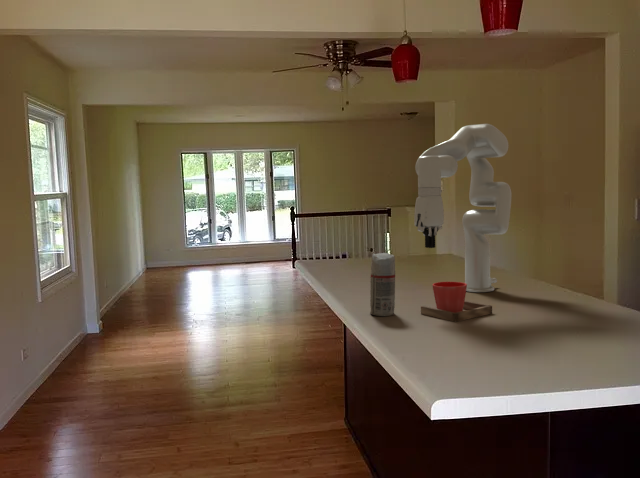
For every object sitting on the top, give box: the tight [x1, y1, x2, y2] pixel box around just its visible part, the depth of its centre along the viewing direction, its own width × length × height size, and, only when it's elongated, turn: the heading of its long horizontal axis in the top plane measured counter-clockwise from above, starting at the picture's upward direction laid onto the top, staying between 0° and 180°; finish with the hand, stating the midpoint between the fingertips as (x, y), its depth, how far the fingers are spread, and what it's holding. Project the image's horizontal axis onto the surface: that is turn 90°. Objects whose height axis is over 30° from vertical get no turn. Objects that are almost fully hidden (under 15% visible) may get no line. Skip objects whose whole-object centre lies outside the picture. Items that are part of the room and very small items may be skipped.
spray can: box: [369, 252, 396, 317], centre depth 188 cm, size 8×8×20 cm
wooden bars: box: [420, 300, 493, 323], centre depth 187 cm, size 17×15×2 cm
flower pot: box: [431, 281, 467, 313], centre depth 187 cm, size 11×11×10 cm
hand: (430, 247), depth 194 cm, fingers closed
